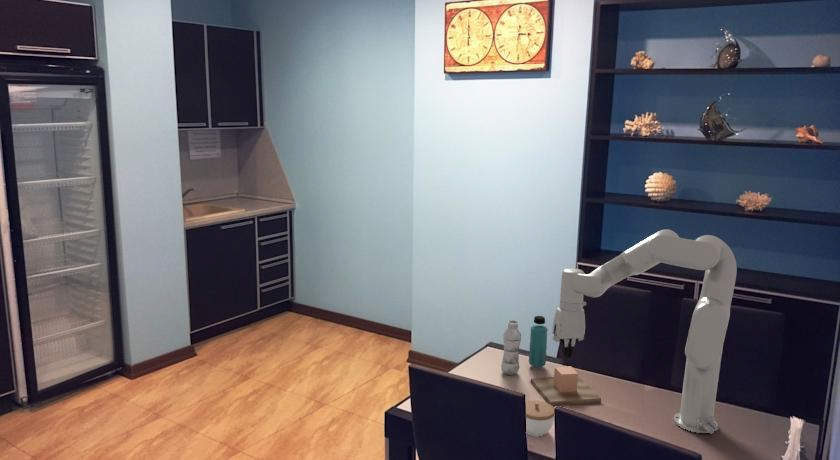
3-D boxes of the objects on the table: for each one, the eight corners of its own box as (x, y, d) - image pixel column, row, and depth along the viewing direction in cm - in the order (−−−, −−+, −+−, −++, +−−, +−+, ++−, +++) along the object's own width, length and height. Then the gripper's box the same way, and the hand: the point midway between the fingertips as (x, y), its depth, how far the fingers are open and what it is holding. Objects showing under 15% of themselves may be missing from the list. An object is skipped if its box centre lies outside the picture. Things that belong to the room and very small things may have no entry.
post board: (600, 402, 208) (602, 384, 206) (550, 405, 204) (551, 387, 203) (577, 379, 225) (578, 362, 224) (530, 382, 222) (531, 365, 220)
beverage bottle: (547, 371, 231) (550, 320, 227) (529, 370, 231) (532, 319, 227) (544, 364, 238) (547, 314, 234) (526, 363, 238) (529, 313, 234)
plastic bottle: (497, 371, 230) (500, 320, 226) (512, 368, 233) (515, 318, 229) (506, 378, 224) (509, 326, 220) (522, 375, 227) (525, 323, 223)
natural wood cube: (576, 391, 212) (578, 373, 211) (560, 392, 211) (561, 374, 210) (569, 383, 218) (570, 366, 217) (553, 384, 217) (554, 367, 215)
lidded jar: (553, 443, 182) (555, 413, 180) (516, 438, 184) (518, 409, 182) (553, 425, 192) (555, 397, 190) (518, 421, 194) (519, 393, 192)
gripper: (586, 301, 214) (582, 351, 217) (545, 302, 211) (542, 353, 214) (596, 308, 206) (592, 359, 210) (554, 309, 204) (550, 362, 207)
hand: (567, 356), depth 212 cm, fingers closed
